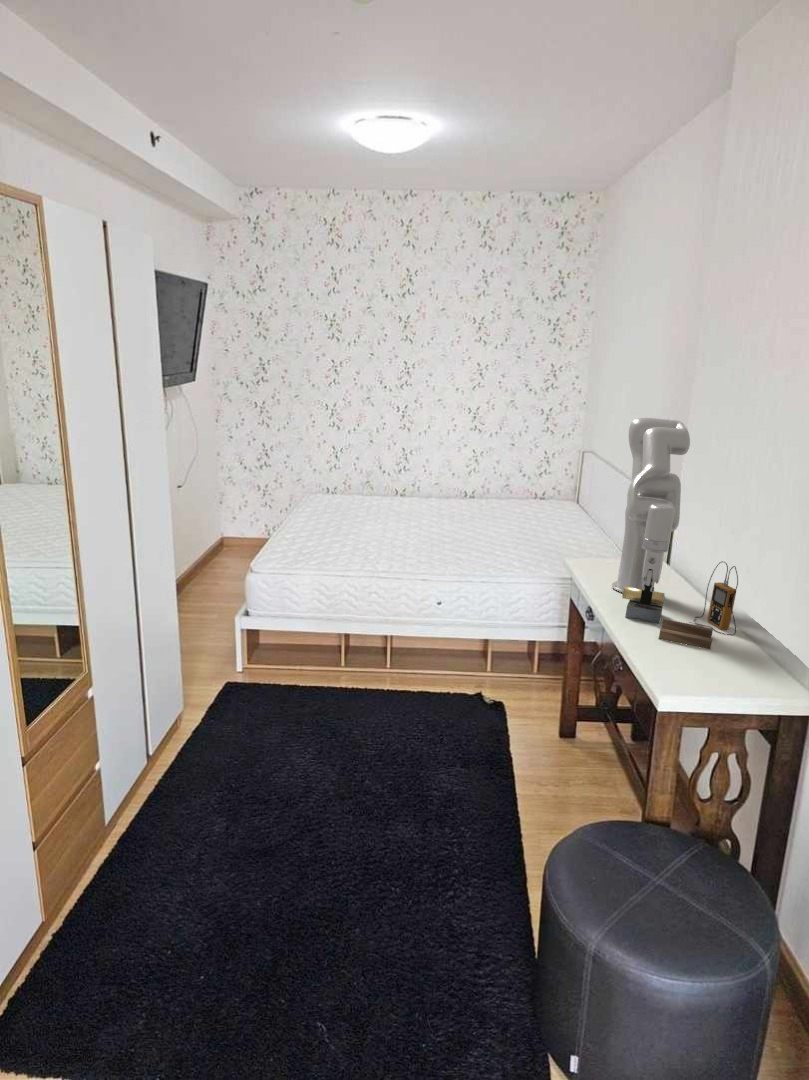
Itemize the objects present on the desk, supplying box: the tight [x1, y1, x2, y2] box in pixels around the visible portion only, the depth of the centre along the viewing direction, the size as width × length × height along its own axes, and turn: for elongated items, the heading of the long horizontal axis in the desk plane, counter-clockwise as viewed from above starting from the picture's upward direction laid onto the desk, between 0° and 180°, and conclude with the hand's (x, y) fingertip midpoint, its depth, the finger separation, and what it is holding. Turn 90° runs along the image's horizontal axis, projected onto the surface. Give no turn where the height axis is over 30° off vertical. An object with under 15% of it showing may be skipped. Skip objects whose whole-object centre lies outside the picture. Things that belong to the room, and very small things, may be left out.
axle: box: [621, 586, 665, 606], centre depth 226 cm, size 12×4×4 cm, turn 66°
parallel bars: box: [658, 618, 714, 651], centre depth 212 cm, size 12×14×2 cm
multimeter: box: [688, 561, 739, 636], centre depth 220 cm, size 15×10×20 cm
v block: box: [625, 599, 664, 625], centre depth 227 cm, size 10×10×4 cm
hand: (646, 600), depth 226 cm, fingers open, 4 cm apart
